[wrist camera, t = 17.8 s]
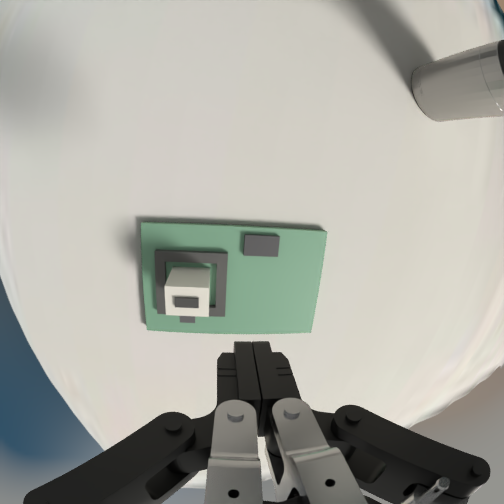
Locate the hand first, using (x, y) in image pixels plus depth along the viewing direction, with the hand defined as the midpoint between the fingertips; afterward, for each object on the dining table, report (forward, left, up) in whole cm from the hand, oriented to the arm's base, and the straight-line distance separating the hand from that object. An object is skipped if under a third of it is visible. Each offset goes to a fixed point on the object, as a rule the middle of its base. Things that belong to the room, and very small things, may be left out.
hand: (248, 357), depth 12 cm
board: (-1, +5, -22) cm, 23 cm away
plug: (+4, +5, -21) cm, 22 cm away
